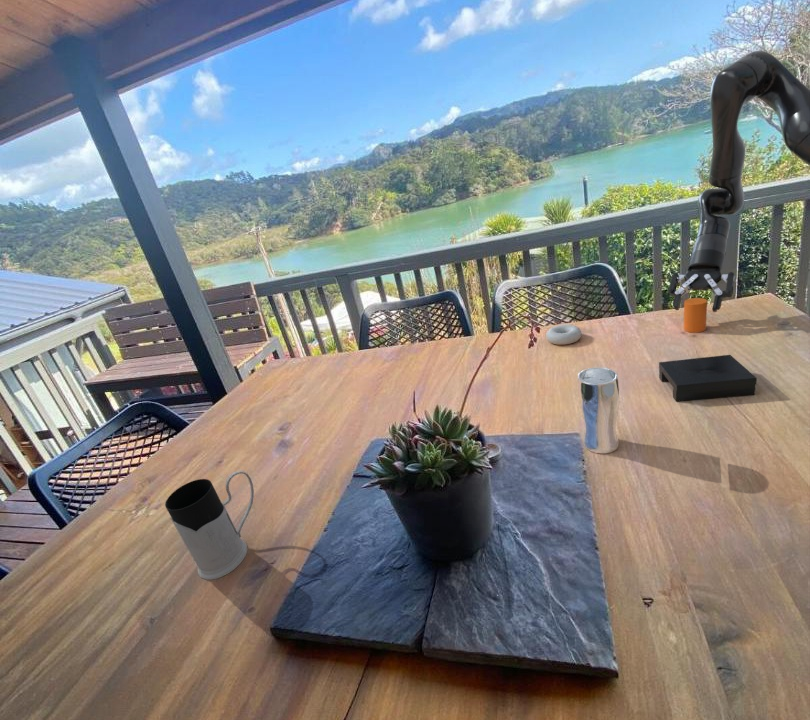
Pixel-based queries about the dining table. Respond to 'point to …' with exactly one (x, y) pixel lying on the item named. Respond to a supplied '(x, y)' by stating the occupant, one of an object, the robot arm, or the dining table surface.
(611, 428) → the silver metal tumbler
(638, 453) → the dining table surface
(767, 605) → the dining table surface
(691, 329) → the candle
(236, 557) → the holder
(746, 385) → the black display riser
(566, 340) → the donut
